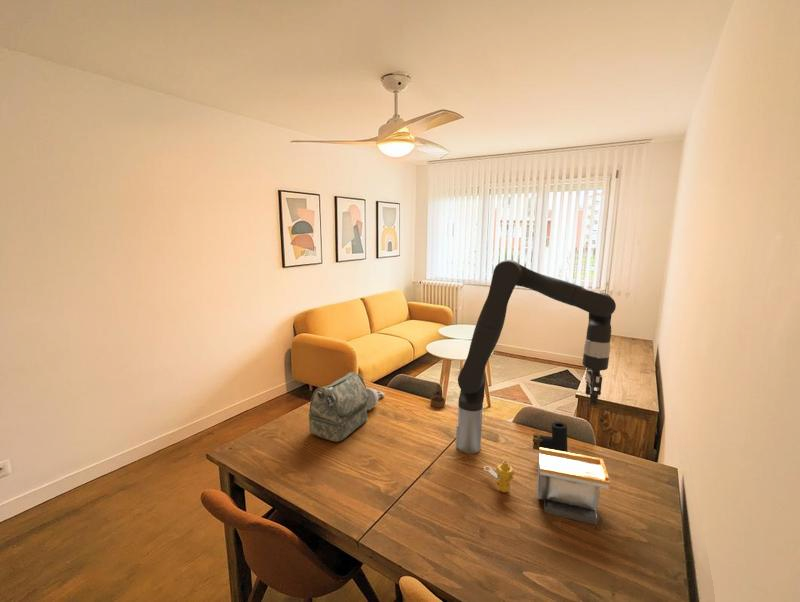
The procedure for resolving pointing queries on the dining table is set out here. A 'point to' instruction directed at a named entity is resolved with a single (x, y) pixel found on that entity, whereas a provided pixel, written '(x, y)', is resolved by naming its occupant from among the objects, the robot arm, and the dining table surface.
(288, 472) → the dining table surface
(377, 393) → the engine component
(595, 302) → the robot arm
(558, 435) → the pipe connector
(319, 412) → the lunch bag
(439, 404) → the place setting
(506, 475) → the pressure relief valve
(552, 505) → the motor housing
